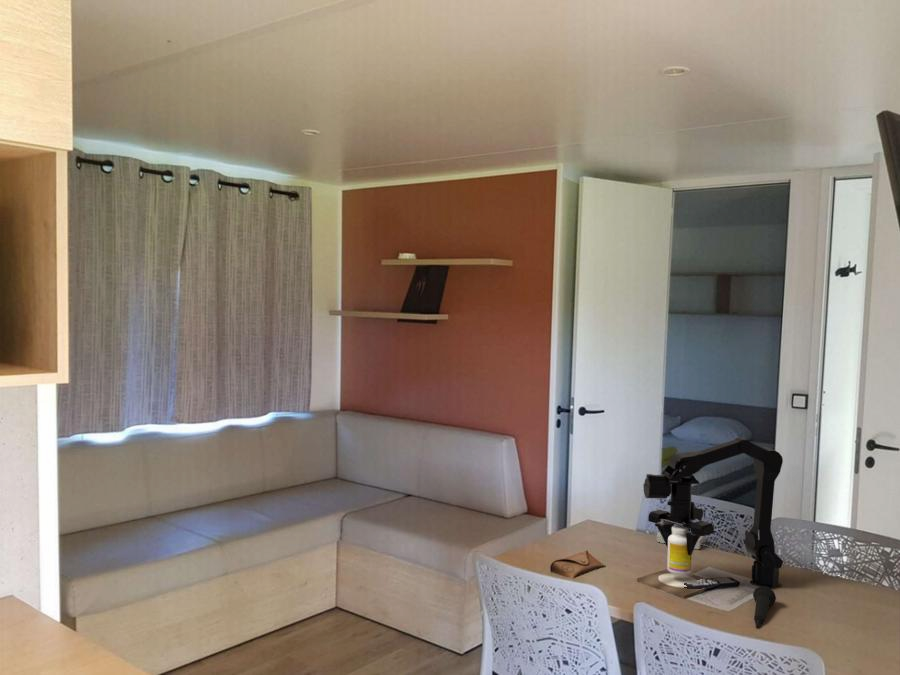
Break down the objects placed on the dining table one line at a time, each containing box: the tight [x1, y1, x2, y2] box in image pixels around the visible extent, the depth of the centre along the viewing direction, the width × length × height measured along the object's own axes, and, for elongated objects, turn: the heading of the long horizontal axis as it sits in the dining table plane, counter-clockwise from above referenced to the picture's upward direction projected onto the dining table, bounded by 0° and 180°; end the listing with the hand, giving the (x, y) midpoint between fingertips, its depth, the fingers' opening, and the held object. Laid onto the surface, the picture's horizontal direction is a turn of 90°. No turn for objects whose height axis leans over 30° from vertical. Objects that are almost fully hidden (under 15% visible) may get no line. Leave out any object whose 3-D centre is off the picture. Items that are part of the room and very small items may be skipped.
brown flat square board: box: [636, 568, 707, 599], centre depth 214 cm, size 16×17×1 cm
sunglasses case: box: [549, 550, 606, 580], centre depth 225 cm, size 18×7×7 cm
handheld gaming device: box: [656, 530, 707, 550], centre depth 253 cm, size 9×15×4 cm, turn 58°
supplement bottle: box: [666, 525, 692, 575], centre depth 214 cm, size 7×7×13 cm
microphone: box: [752, 586, 777, 629], centre depth 193 cm, size 6×6×20 cm
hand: (679, 551), depth 214 cm, fingers closed on supplement bottle, 7 cm apart
